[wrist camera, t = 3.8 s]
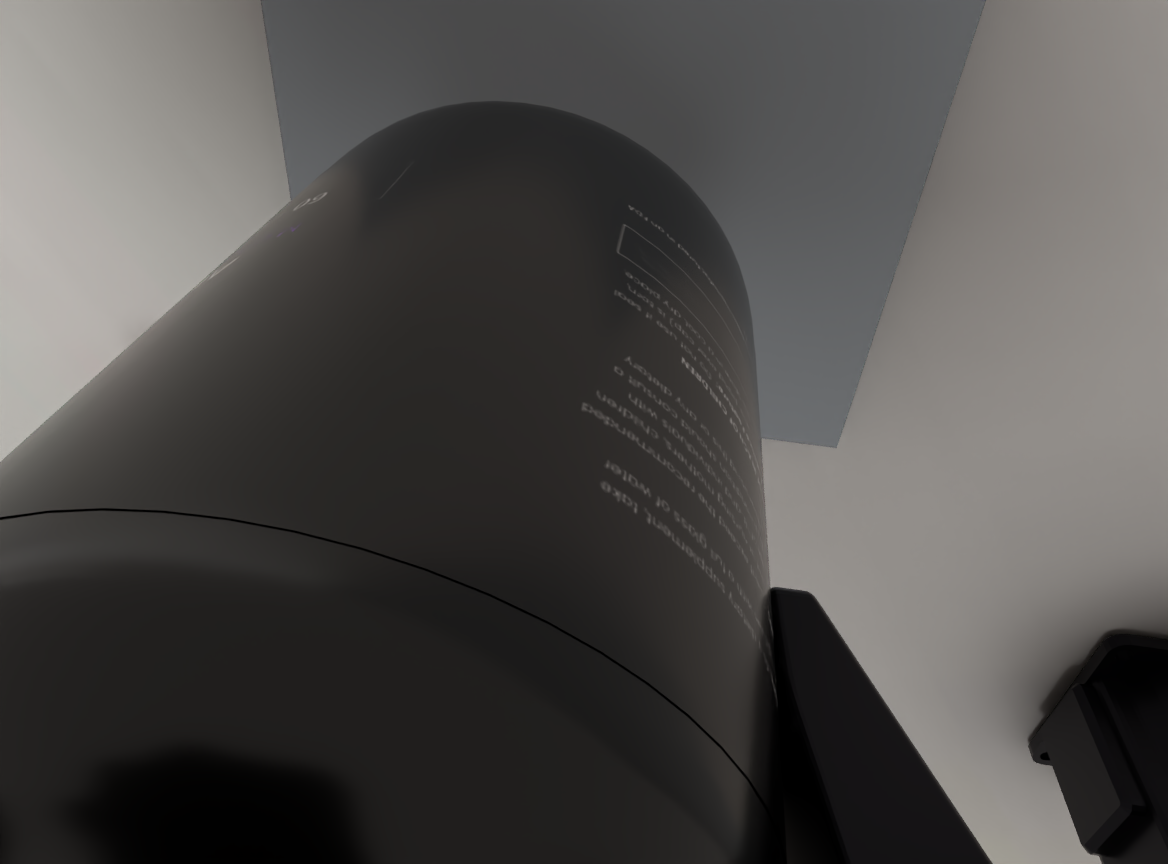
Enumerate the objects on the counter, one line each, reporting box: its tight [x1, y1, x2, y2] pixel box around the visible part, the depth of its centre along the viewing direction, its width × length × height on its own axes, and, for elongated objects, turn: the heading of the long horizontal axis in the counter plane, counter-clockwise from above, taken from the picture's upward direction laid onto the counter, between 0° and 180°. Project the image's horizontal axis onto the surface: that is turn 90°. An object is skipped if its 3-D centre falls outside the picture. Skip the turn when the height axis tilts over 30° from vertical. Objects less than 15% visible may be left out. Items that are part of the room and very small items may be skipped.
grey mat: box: [261, 0, 986, 448], centre depth 18 cm, size 14×14×1 cm
